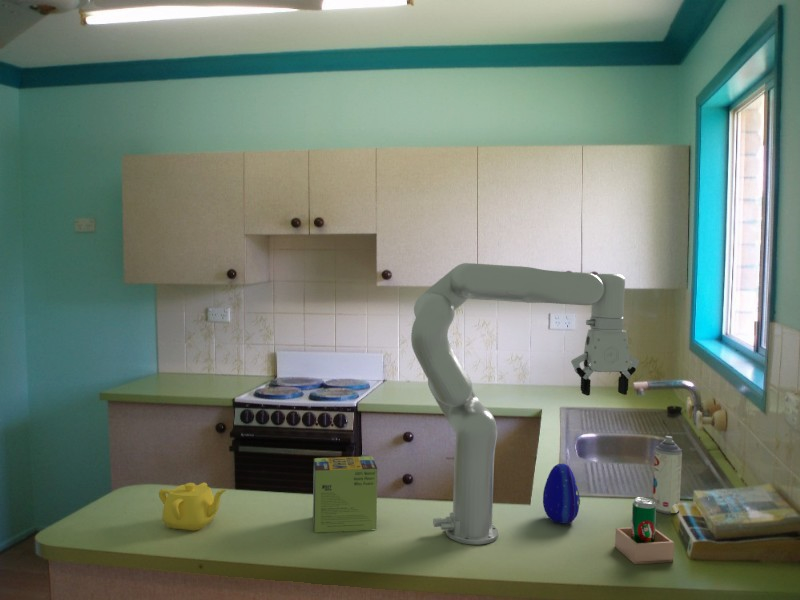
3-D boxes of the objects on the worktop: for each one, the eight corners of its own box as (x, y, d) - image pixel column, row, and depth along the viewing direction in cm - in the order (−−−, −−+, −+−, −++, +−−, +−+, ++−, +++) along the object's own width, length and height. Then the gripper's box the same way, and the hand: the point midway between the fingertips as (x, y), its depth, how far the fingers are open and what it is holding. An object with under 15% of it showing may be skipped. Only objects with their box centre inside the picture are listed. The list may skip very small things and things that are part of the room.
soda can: (635, 545, 160) (637, 494, 159) (657, 551, 157) (659, 500, 156) (627, 552, 156) (629, 500, 155) (649, 558, 153) (651, 506, 152)
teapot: (212, 511, 177) (212, 472, 177) (227, 528, 166) (227, 487, 166) (157, 520, 170) (157, 480, 170) (168, 539, 159) (168, 496, 159)
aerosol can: (652, 503, 189) (656, 432, 188) (679, 507, 187) (682, 435, 185) (651, 511, 183) (654, 438, 182) (679, 515, 180) (682, 441, 179)
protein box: (377, 530, 167) (378, 468, 166) (313, 533, 165) (314, 470, 163) (371, 514, 177) (373, 455, 176) (312, 516, 175) (312, 457, 174)
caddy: (635, 564, 151) (636, 544, 151) (614, 546, 160) (615, 528, 160) (673, 561, 153) (674, 542, 152) (650, 544, 162) (651, 526, 162)
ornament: (581, 531, 169) (583, 471, 168) (543, 528, 170) (545, 469, 169) (576, 514, 180) (578, 458, 179) (541, 512, 181) (543, 456, 180)
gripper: (580, 326, 161) (577, 398, 162) (647, 326, 164) (644, 396, 165) (567, 322, 168) (564, 391, 169) (631, 323, 171) (628, 390, 172)
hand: (604, 394), depth 167 cm, fingers open, 9 cm apart
